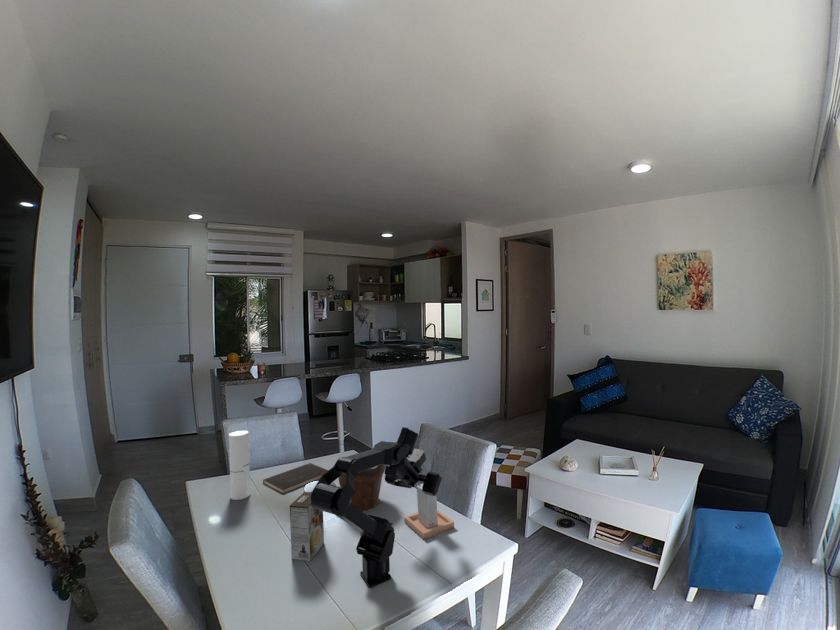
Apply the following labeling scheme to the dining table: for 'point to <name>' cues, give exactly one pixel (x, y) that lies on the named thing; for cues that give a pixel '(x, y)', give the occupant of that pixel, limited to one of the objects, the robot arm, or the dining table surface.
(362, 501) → the brown flower pot
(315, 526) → the coffee box
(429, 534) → the terracotta dish
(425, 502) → the skincare box
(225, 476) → the dining table surface
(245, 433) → the cylindrical container
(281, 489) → the hardcover book
